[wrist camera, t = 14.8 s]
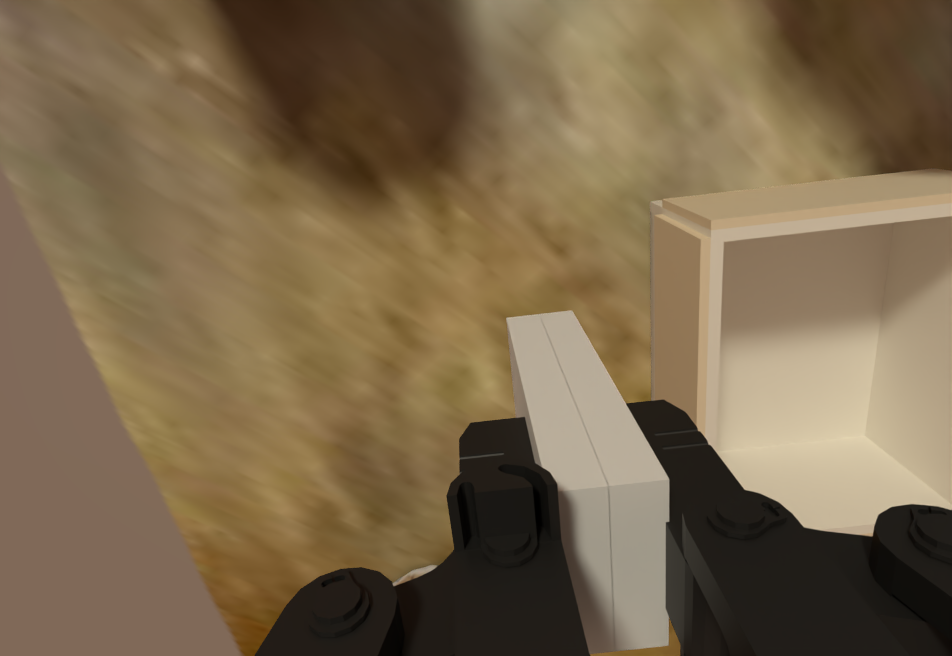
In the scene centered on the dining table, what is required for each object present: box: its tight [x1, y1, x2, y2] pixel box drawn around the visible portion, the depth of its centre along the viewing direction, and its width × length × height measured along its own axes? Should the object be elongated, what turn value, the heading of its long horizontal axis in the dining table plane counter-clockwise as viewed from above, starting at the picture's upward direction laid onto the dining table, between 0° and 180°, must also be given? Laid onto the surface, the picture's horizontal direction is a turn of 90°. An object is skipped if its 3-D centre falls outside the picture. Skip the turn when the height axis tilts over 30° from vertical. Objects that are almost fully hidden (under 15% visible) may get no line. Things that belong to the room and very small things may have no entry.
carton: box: [650, 168, 952, 536], centre depth 45 cm, size 25×21×12 cm
